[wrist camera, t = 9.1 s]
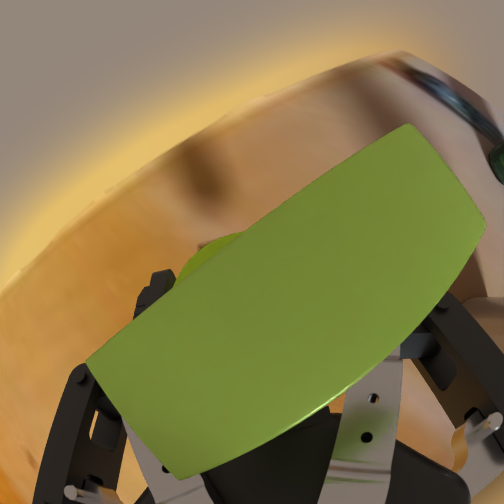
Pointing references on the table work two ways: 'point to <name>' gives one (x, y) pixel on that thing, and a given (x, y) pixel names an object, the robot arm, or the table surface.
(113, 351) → the soap dispenser
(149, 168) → the table surface
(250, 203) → the table surface
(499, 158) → the coffee jar
